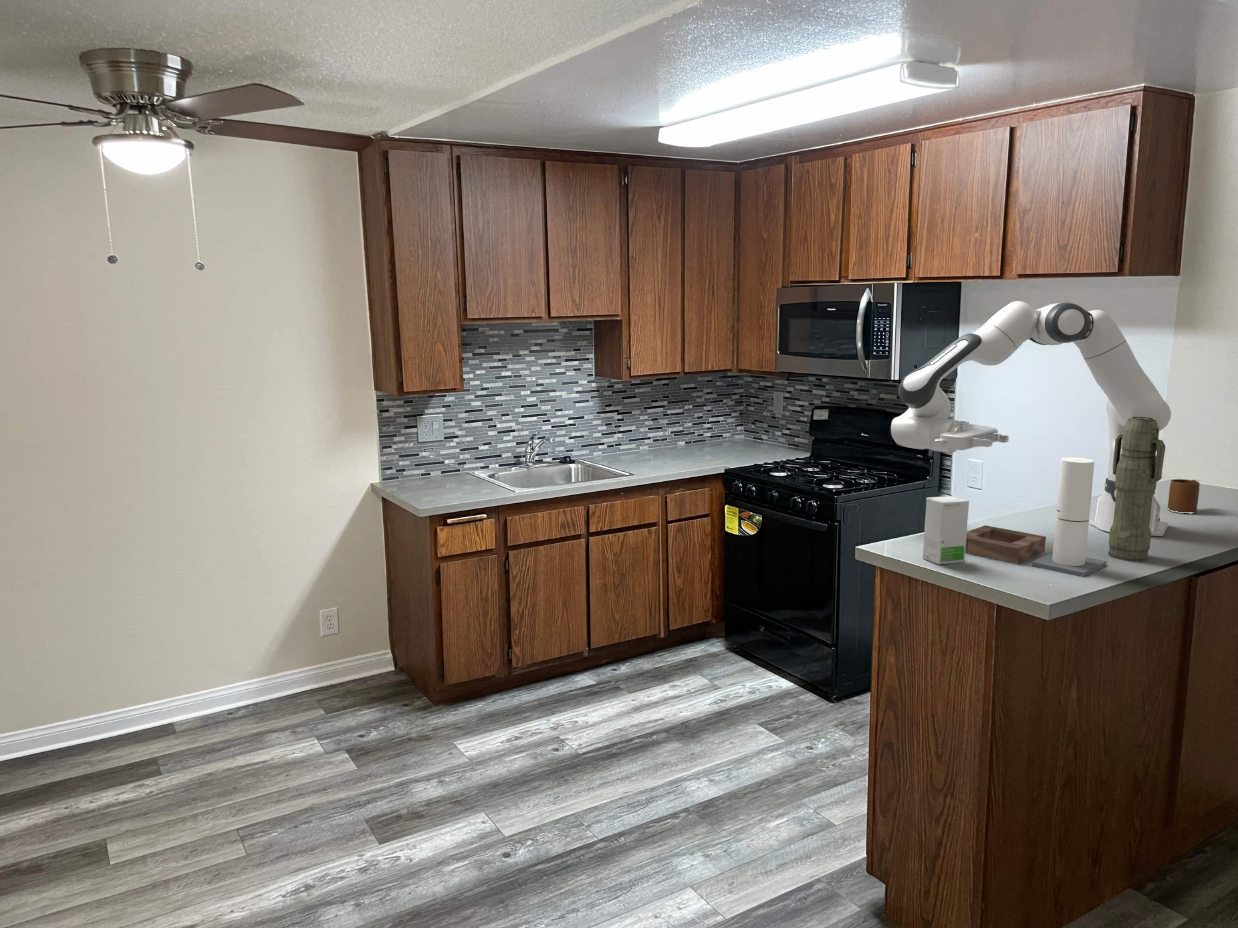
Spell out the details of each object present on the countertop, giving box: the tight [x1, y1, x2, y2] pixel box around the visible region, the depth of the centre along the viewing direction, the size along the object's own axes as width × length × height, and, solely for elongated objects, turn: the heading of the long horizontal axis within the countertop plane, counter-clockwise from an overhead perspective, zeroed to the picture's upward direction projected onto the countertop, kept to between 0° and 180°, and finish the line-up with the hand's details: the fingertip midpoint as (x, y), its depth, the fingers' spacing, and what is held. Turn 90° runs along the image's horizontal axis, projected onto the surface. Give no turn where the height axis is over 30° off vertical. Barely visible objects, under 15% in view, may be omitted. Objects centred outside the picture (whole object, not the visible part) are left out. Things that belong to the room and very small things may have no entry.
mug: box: [1167, 478, 1200, 513], centre depth 275 cm, size 12×8×9 cm, turn 126°
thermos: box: [1107, 417, 1166, 562], centre depth 224 cm, size 9×12×35 cm
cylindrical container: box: [1052, 456, 1095, 566], centre depth 216 cm, size 7×7×25 cm
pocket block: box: [965, 525, 1047, 565], centre depth 231 cm, size 16×16×4 cm
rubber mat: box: [1031, 552, 1107, 578], centre depth 219 cm, size 14×12×1 cm
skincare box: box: [922, 495, 970, 565], centre depth 222 cm, size 8×7×16 cm
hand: (999, 441), depth 232 cm, fingers open, 8 cm apart
